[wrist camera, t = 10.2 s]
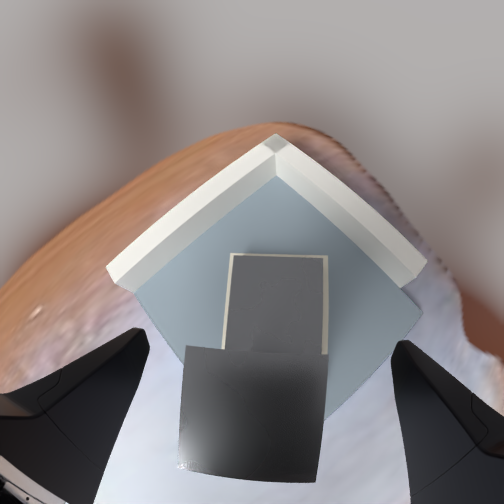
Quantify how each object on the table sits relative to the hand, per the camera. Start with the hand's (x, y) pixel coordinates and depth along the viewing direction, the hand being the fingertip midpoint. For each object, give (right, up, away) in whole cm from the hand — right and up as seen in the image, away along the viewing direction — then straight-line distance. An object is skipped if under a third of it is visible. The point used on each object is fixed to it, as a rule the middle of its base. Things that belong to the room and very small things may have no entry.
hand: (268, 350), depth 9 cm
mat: (+1, 0, +9) cm, 9 cm away
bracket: (+1, -1, +8) cm, 8 cm away
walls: (0, +1, +10) cm, 10 cm away
